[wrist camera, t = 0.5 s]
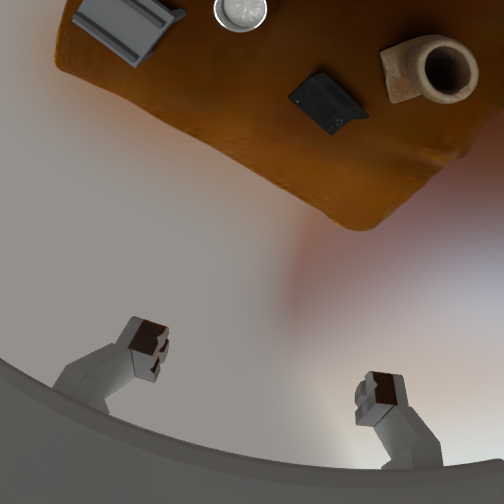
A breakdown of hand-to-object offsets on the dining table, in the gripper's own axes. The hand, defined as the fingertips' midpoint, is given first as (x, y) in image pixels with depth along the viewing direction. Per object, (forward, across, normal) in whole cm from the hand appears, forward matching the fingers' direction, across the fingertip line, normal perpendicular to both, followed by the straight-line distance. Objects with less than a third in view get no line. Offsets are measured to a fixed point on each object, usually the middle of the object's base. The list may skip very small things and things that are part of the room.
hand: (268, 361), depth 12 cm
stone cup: (+47, -16, -19) cm, 53 cm away
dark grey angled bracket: (+51, -4, -7) cm, 52 cm away
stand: (+46, +33, -19) cm, 60 cm away
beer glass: (+46, +10, -22) cm, 52 cm away
